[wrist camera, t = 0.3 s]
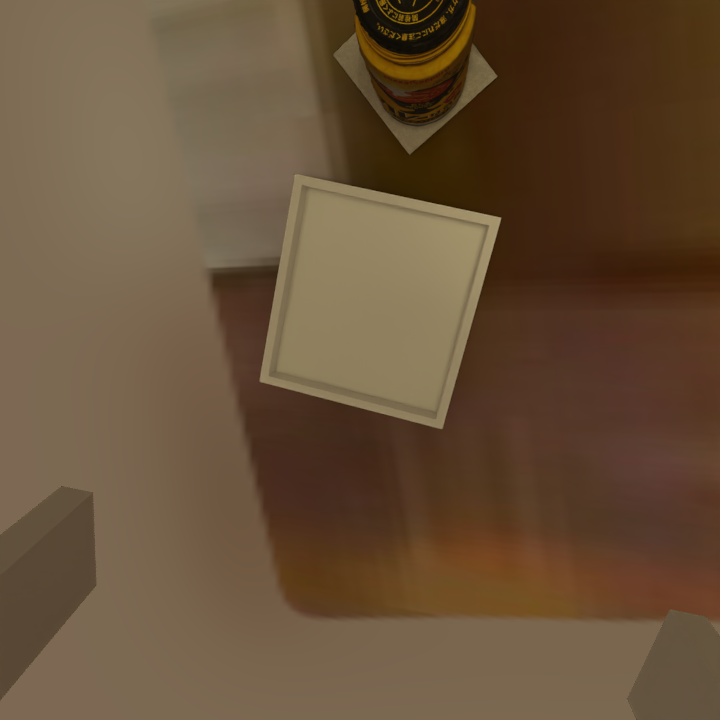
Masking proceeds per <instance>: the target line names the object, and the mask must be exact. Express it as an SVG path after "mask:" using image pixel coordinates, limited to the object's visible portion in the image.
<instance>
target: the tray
mask: <svg viewBox="0 0 720 720" xmlns="http://www.w3.org/2000/svg"><path fill="white" fill-rule="evenodd" d="M500 221H501V218H500V217H495V216H491V215H486V214H481V213H477V212H472V211H467V210H462V209H458V208H453V207H448V206H444V205H439V204H434V203H430V202H425V201H420V200H416V199H411V198H406V197H402V196H397V195H392V194H387V193H383V192H378V191H373V190H369V189H364V188H359V187H355V186H350V185H345V184H341V183H336V182H331V181H327V180H322V179H317V178H312V177H308V176H303V175H298V174H295V178H294V183H293V189H292V195H291V201H290V207H289V212H288V218H287V224H286V230H285V236H284V241H283V247H282V253H281V259H280V265H279V270H278V276H277V282H276V288H275V294H274V299H273V305H272V311H271V317H270V323H269V328H268V334H267V340H266V346H265V352H264V358H263V363H262V369H261V375H260V381H259V382H263V383H267V384H270V385H274V386H278V387H282V388H286V389H290V390H293V391H297V392H301V393H305V394H309V395H313V396H316V397H320V398H324V399H328V400H332V401H336V402H339V403H343V404H347V405H351V406H355V407H359V408H362V409H366V410H370V411H374V412H378V413H382V414H385V415H389V416H393V417H397V418H401V419H405V420H408V421H412V422H416V423H420V424H424V425H428V426H431V427H435V428H439V429H442V428H443V425H444V421H445V417H446V414H447V410H448V407H449V403H450V400H451V396H452V392H453V389H454V385H455V382H456V378H457V375H458V371H459V367H460V364H461V360H462V357H463V353H464V350H465V346H466V342H467V339H468V335H469V332H470V328H471V324H472V321H473V317H474V314H475V310H476V307H477V303H478V299H479V296H480V292H481V289H482V285H483V282H484V278H485V274H486V271H487V267H488V264H489V260H490V257H491V253H492V249H493V246H494V242H495V239H496V235H497V231H498V228H499V224H500Z"/></svg>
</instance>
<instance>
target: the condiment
mask: <svg viewBox="0 0 720 720" xmlns="http://www.w3.org/2000/svg"><path fill="white" fill-rule="evenodd" d="M353 2H354V6H355V24H354V26H355V29H356V32H355V33H354V34H353V35H352V36H351V37H350V39H349V40H348V41H347V42H345V43H344V44H343V45H342V46H341V47H340V48H339V49H338V50H337V51H336V52H335V53H334V54H333V56H334V57H335V58H336V60H337V61H338V62H339V63H340V65H341V66H342V67H343V69H344V70H345V71H346V73H347V74H348V75H349V76H350V78H351V79H352V80H353V82H354V83H355V84H356V86H357V87H358V88H359V90H360V91H361V92H362V94H363V95H364V96H365V97H366V99H367V100H368V101H369V103H370V104H371V105H372V107H373V108H374V109H375V111H376V112H377V113H378V115H379V116H380V117H381V118H382V120H383V121H384V122H385V124H386V125H387V126H388V128H389V129H390V130H391V132H392V133H393V134H394V136H395V137H396V138H397V139H398V141H399V142H400V143H401V145H402V146H403V147H404V149H405V150H406V151H407V152H408V154H409V155H410V154H411V153H412V152H413V151H415V150H416V149H417V148H418V147H419V146H420V145H421V144H422V143H424V142H425V141H426V140H427V139H428V138H429V137H430V136H432V135H433V134H434V133H435V132H436V131H437V130H438V129H440V128H441V127H442V126H443V125H444V124H445V123H446V122H448V121H449V120H450V119H451V118H452V117H453V116H454V115H455V114H456V113H458V112H459V111H460V110H461V109H462V108H463V107H464V106H465V105H466V104H468V103H469V102H470V101H471V100H472V99H473V98H474V97H475V96H476V95H477V94H478V93H480V92H481V91H482V90H483V89H484V88H485V87H486V86H487V85H489V84H490V83H491V82H492V81H493V80H494V79H495V78H497V75H496V74H495V73H494V71H493V70H492V69H491V67H490V66H489V65H488V63H487V62H486V61H485V59H484V58H483V57H482V55H481V54H480V53H479V51H478V50H477V48H476V47H475V46H474V45H473V35H474V31H475V24H476V0H353Z"/></svg>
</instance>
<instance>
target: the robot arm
mask: <svg viewBox="0 0 720 720" xmlns="http://www.w3.org/2000/svg"><path fill="white" fill-rule="evenodd" d="M94 536H95V535H94V509H93V492H88V491H83V490H78V489H73V488H68V487H64V486H61V487H60V488H59V489H57V490H56V491H55V492H54V493H52V494H51V495H50V496H48V497H47V498H46V499H45V500H43V501H42V502H41V503H40V504H38V505H37V506H36V507H35V508H33V509H32V510H31V511H30V512H28V513H27V514H26V515H25V516H23V517H22V518H21V519H20V520H18V521H17V522H16V523H15V524H13V525H12V526H11V527H10V528H8V529H7V530H6V531H5V532H3V533H2V534H1V535H0V700H1V699H2V698H3V697H4V695H5V694H6V693H7V692H8V691H9V689H10V688H11V687H12V686H13V685H14V683H15V682H16V681H17V680H18V679H19V677H20V676H21V675H22V674H23V673H24V671H25V670H26V669H27V668H28V667H29V665H30V664H31V663H32V662H33V661H34V659H35V658H36V657H37V656H38V655H39V653H40V652H41V651H42V650H43V648H44V647H45V646H46V645H47V644H48V643H49V641H50V640H51V639H52V638H53V637H54V635H55V634H56V633H57V632H58V631H59V629H60V628H61V627H62V626H63V625H64V624H65V622H66V621H67V620H68V619H69V617H70V616H71V615H72V614H73V613H74V611H75V610H76V609H77V608H78V607H79V605H80V604H81V603H82V602H83V601H84V600H85V598H86V597H87V596H88V595H89V594H90V592H91V591H92V590H93V589H94V588H95V586H96V562H95V537H94ZM627 699H628V702H629V704H630V706H631V708H632V711H633V713H634V715H635V718H636V720H720V636H719V634H718V633H717V631H716V630H715V629H714V627H713V626H712V624H711V623H710V622H709V620H708V619H707V617H705V616H700V615H695V614H690V613H685V612H680V611H675V610H669V612H668V615H667V617H666V619H665V621H664V623H663V625H662V627H661V629H660V632H659V633H658V635H657V638H656V640H655V642H654V644H653V646H652V648H651V650H650V652H649V654H648V656H647V659H646V661H645V663H644V665H643V667H642V669H641V671H640V673H639V675H638V677H637V679H636V681H635V684H634V686H633V688H632V690H631V692H630V694H629V696H628V698H627Z"/></svg>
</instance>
